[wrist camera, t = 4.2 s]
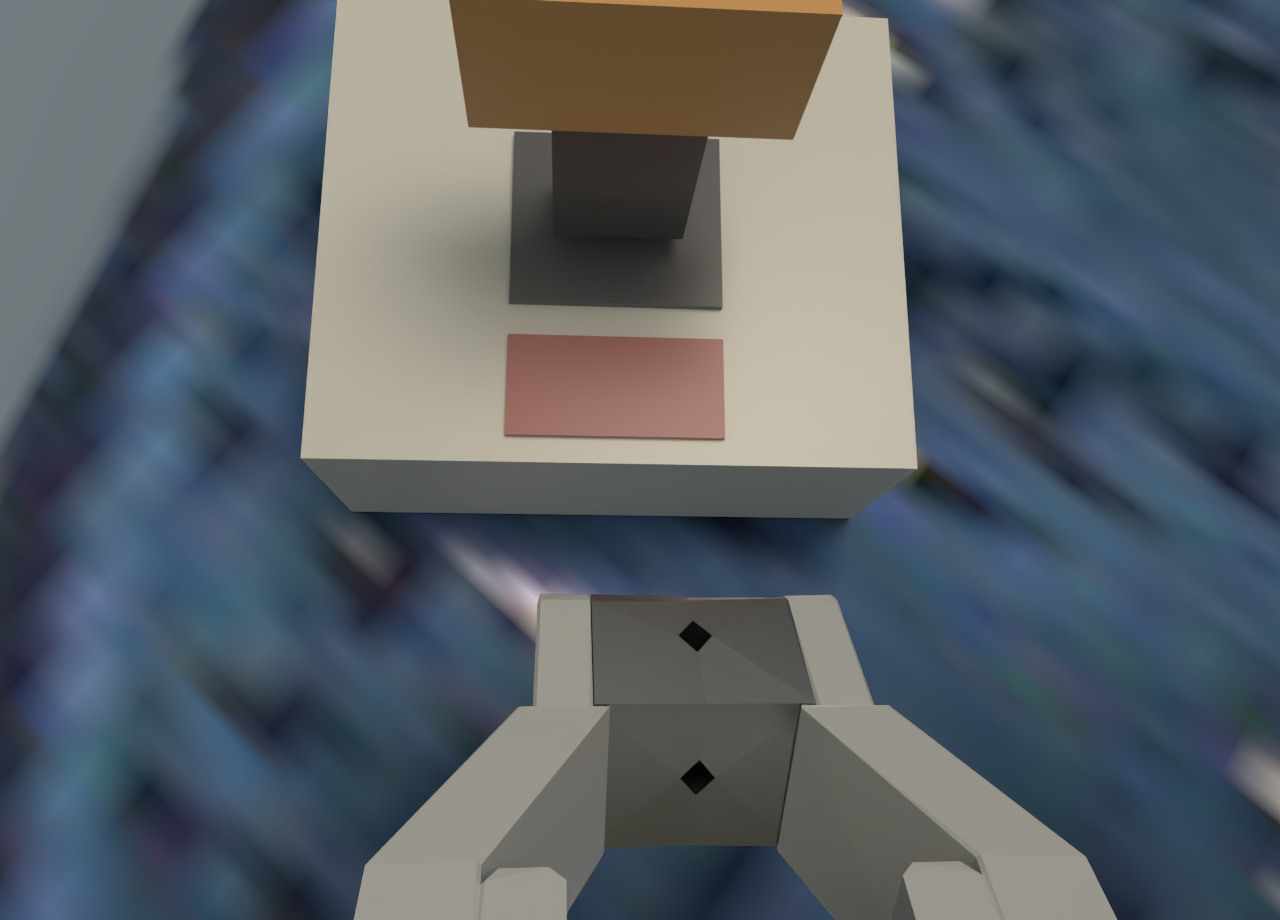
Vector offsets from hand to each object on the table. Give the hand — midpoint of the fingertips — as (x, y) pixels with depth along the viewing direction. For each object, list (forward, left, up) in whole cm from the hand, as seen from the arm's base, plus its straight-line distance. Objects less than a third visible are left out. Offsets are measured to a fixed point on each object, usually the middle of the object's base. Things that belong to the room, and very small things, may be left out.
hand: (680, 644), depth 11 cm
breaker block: (-8, -8, -18) cm, 22 cm away
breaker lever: (-8, -8, -12) cm, 16 cm away
